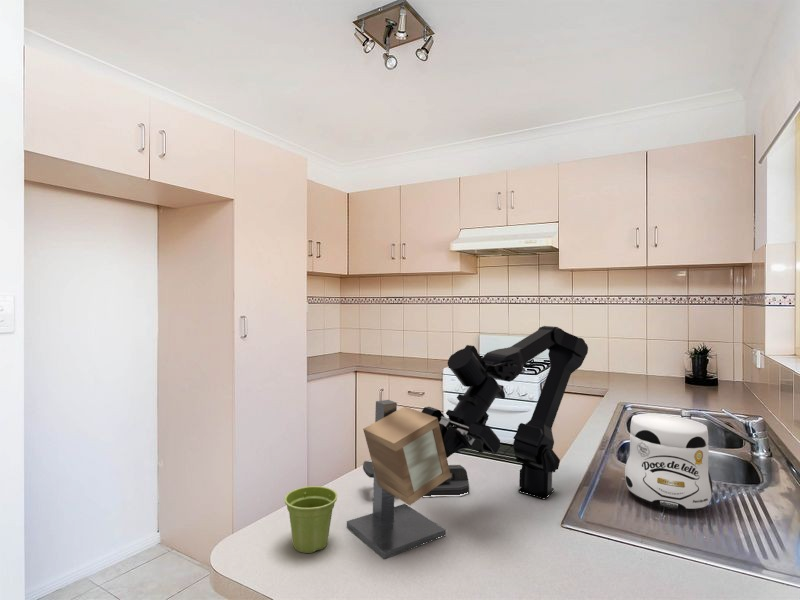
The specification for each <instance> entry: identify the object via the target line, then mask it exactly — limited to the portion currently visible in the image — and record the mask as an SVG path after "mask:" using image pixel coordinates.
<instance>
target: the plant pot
mask: <svg viewBox="0 0 800 600" xmlns="http://www.w3.org/2000/svg"><path fill="white" fill-rule="evenodd" d="M337 500H338V493H337V492H336V491H335V490H334V489H332V488H329V487H326V486H318V485H317V486H316V485H314V486H313V485H312V486H311V485H310V486H303V487H298V488H296V489H293V490H291V491H289V492H288V493H287V494H286V495H285V497H284V499H283V501H284V504H285V505H286V508H287V511H288V514H289V522H290V523H289V524H290V528H291V529H290V530H291V540H292V547H294V548H295V550H296V551H297V552H300V553H306V554H311V553H314V552H316V551H321V550H323V549H325V548H326V547H327V545H328V541H329V535H330V528H331V523H332V515H333V509H334V508H335V503H336V502H337Z"/></svg>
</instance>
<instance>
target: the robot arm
mask: <svg viewBox="0 0 800 600" xmlns="http://www.w3.org/2000/svg"><path fill="white" fill-rule="evenodd" d="M547 350H548V359H549V363H550V368H549V370H548V373H547V376H546V378H545V381H544V384H543V386H542V389H541V391H540V394H539V397H538V400H537V401H536V404H535V407H534V410H533V413H532V415H531V417H530V420H528V421H527V422H526V423H522V422H521V423H519V424H518V426H517V430H516V432H515V435H514V436H513V439H514V440H513V443H512V448H513V452H514V455H515V459H516V460H515V461H516V462H517V463H519V464H521V469H520V470H519V482H518V483H519V484H518V485H519V487H520V488H519V489H518V492H519V491H521V492H524V493H528V494H531V495H535V496H538V497H541V498H540V499H542V498H547V496H548V495H549V494H550V493H551V492H552V491H553V490H554V491H555V488H554V487H552V486H553V473H556V471H557V470H559V468H560V462H561V460H560V458H559V457H558V455H557V454H556V452H555V451H554V450H553V449H554V444H555V439H554V436H553V431H552V429H553V425H554V422H555V419H556V417H557V415H558V412H559V408H560V406H561V403H562V400H563V397H564V396H565V391H566V389H567V386H568V383H569V380H570V378H571V375H572V374H573V373H575V371H577V370H578V369H579V368H580V367H581V366H582V365H583V363H584V361H585V359H586V358H587V355H588V351H589V346H588V344H587V342H586V341H585V339H584V338H582V337H578V336H576V335H574V334H571V333H569V332H566V331H565V330H564V329H562V328H560V327H559V326H549V325H548V326H547V325H542V326H540V327H539V328H538V329H537V330H536V331H534V332H532V333H531V334H529V335H528V336H526V337H524V338H523V339H521V340H519V341H518V342H516V343H515V344H514V343H513V345H511V346H509V347H504V348H497V349H494V350H491V351H489V352H486V353H485V354H484V355H483V357H482V356H481V355H480V354H479V352H478V350H477V348H476V347H475V345H471V344H466V345H465V347H464V348H462V349H459V350H457V351H455V352H454V353H452V354H451V355H450V356H449V358H448V359H447V360H448V361H447V366H448V368H449V370H450V371H451V372H452V373H453V375H454V376H455V377H456V378H457V379H458V381H459V383H461V385H462V386H463V387H467V389H466V391H465V392H464V394H461V393H459V394H458V395H457V396H456V400H458V403H457V404H456V405H455V407H454V408H453V410H452V409H447V411H446V413H445V415H447V416H445V415H444V413H442V412H441V410H440V409H437V408H436V407H435V408H434V407H432V406H424V407H423V409H422V410H421V412H422V413H425V414H428V415H431V416H434V417H437V418H438V422H439V427H440V431H441V435H442V440H443V444H444V448H445V453H446V457H447V459H448V458H449V457H451V455H453V454H455V453H456V452H458V451H460V450H463V449H469V450H474V451H476V452H478V453H479V454H483V453H484V452H487V453H488V454H489V453H490V454H491V455H496V454H497V453H498V451H499V450H500V448H501V440H500V438H499V437H498V436H497V434H496V433H495V431H494V430H492V428H491V427H490V426H489V425H487V421H488V420H489V416H490V415H489V413H487V412H488V410H489V409H490V407H491V406H492V404H493V403H494V401H495V399H496V398H498V399H499V398H500V399H503V400H505V398H506V392H505V391H504V390H505V389H504V385H501V384H499V383H498V381H503V382H512V381H514V380H515V379H516V378H517V377H518V376H519V375H520V374H521V373H522V372H523V371H524V365H526V364H527V363H528V362H530V361H531V360H533V359H534V358H535V357H537V356H539V355H540V354H542V353H543V352H545V351H547ZM497 380H498V381H497ZM554 491H553V492H554ZM553 492H552V493H553ZM524 493H523V494H524ZM552 493H551V494H552ZM531 495H530V496H531ZM535 496H534V497H535ZM538 497H537V498H538ZM547 499H548V498H547Z"/></svg>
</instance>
